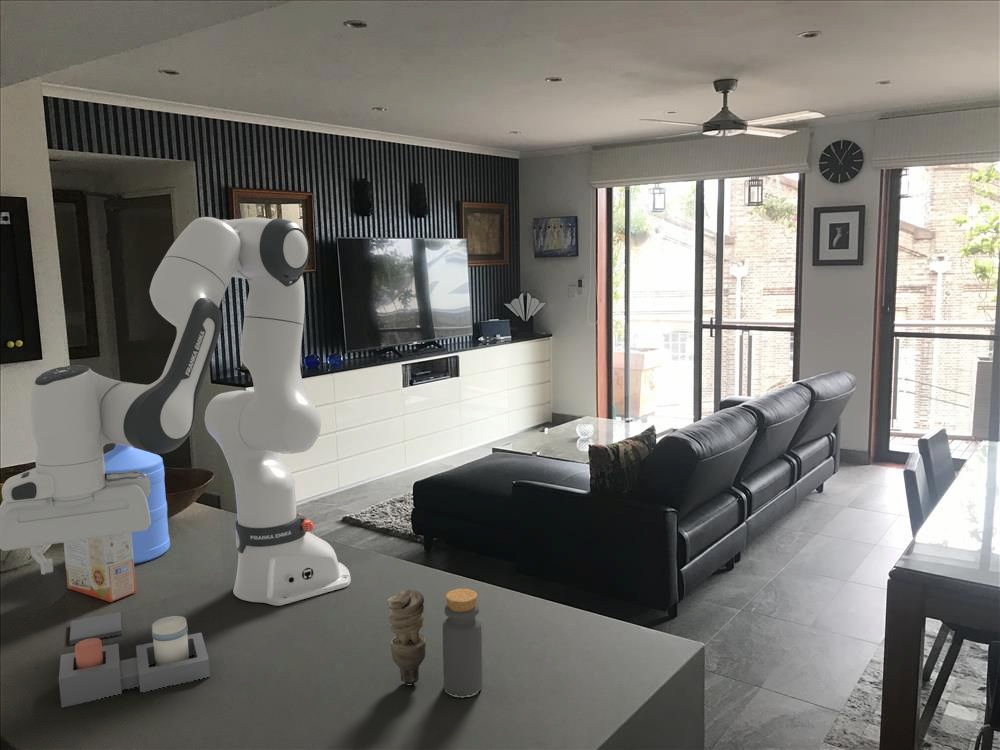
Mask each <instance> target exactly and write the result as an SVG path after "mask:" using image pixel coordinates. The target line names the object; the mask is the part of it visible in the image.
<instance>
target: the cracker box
mask: <svg viewBox="0 0 1000 750" xmlns="http://www.w3.org/2000/svg"><path fill="white" fill-rule="evenodd" d="M114 543H115V542H113V535H112V536H105V537H99V538H92V539H85V540H78V541H71V542H64V543H63V550H64V563H65V564H64V565H65V571H66V582H67V584H66V585H67V589H68V590H72V591H75V592H78V593H81V594H84V595H86V596H87V595H88V596H90V597H94V598H96V599H100V600H102V601H106V602H109V603H113V602H115V601H117V600H120V599H122V598H125V597H128V596H130V595H133V594H135V593H136V592H137V590H136V589H137V587H136V575H135V564H134V559H133V547H132V534H131V533H126V534H123V542H122V544H121V546H120V548H119V550H118V551H117V552H116V554H117V563H112V564H106V550H110V549H112V547H113V545H114Z"/></svg>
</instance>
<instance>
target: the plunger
mask: <svg viewBox="0 0 1000 750" xmlns="http://www.w3.org/2000/svg"><path fill="white" fill-rule="evenodd" d="M102 645H103V644H102V640H101V639H98V638H90V639H86V640H82V641H80V642H78V643H77V644H74V652H75V654H76V664H77V670H78V669H83V668H88V667H93V666H97V665H102V664H103V654H102Z"/></svg>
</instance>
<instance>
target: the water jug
mask: <svg viewBox="0 0 1000 750" xmlns="http://www.w3.org/2000/svg"><path fill="white" fill-rule="evenodd" d="M114 444H115V443H114ZM104 464H105V473H106V474H108V473H117V472H119V473H120V472H121V473H122V472H123V473H124V472H129V471H138V473H143V474H145V475H147V476H148V478H149V479H150V488H151V491H150V494H149V495H148V497H147V502H148V507H149V512H150V520H151V524H150V526H149V527H148V529H147V530H145V531H140V532H133V533H131V534H132V547H133V559H134V565H136V564H140V563H145V562H148V561H152V560H154V559H156V558H159V557H160V556H162V555H164V554H165V553H166V552H167V551H168V550H169V549H170V546H171V540H170V535H169V525H168V522H169V521H168V502H167V499H166V497H167V496H166V486H165V465H164V461H163V457H161V456H160V454H157V453H152V452H149V451H145V450H142V449H139V448H136V447H130V446H123V445H118V444H115V446H114V447H113V449H112V450H110V451H108V452H106V453H104ZM139 477H143V476H141V475H139ZM106 483H107V480H106Z"/></svg>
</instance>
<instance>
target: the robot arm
mask: <svg viewBox="0 0 1000 750" xmlns="http://www.w3.org/2000/svg"><path fill="white" fill-rule="evenodd" d="M309 258H310V242H309V239H308V236H307V233H305V231H304V229H303V227H302V226H301V225H299V223H296V222H295V221H292V220H288V219H284V218H273V219H272V218H266V217H252V216H251V217H250V216H249V217H245V218H236V219H235V218H233V219H219V218H217V217H212V216H211V217H210V216H204V217H203V216H202V217H198V218H196V219H194V220H193V221H191V222H190V223H189V224H187V227H185V228H184V229H183V231H181V232H180V234H179V236H178V237H177V238H176V239H175V240H174V241H173V243H172V245H171V246H170V247H169V248H168V250H167V252H166V254H165V255H164V256H163V259H161V262H160V264H159V265H158V267H157V269H156V271H155V272H154V274H153V277H152V280H151V283H150V287H149V296H150V301H151V303H152V305H153V307H154V308H155V310H156V311H157V313H158V314H159V315H161V317H162V318H164V319H165V320H166V321H168V322H169V323H170V324H171V325H173V326H174V327H175V328H176V335H175V340H174V343H173V346H172V347H171V351H170V353H169V354H168V355H169V356H168V358H167V361H166V364H165V366H164V369H163V371H162V374H161V376H160V377H159V378H158V379H157V380H155V381H154V382H152V383H150V384H144V383H143V384H142V383H141V384H140V383H134V382H130V381H129V382H128V381H121V380H117V379H113V378H110V377H106V376H104V375H101V374H99V373H97V372H95V371H93V370H92V368H90V367H89V366H87V365H82V364H81V365H80V364H75V365H74V364H73V365H66V366H59V367H55V368H52V369H49V370H47V371H44V372H42V373H41V374H39V376H37V377H35V380H34V381H33V385H32V387H31V393H30V394H31V397H30V416H31V418H30V419H31V429H32V434H33V437H34V440H35V442H36V446H37V449H36V455H35V467H34V468H31V469H29V470H26V471H23V472H21V473H18V474H16V475H13V476H11V477H9V478H7V480H5V482H4V483H3V485H2V486H1V487H2V488H1V497H2V502H1V504H0V550H1V551H4V552H6V551H14V550H19V549H20V550H21V549H22V550H23V549H27V548H29V552H30V556H32V558H33V559H34V560H35V561H36V562H37V563H38V564H39V565H40V574H41V575H47V574H53V573H54V565H53V558H52V557H51V558H46V556H44V555H43V553H42V549H43V546H48V545H55V544H56V545H57V544H64V542H71V541H78V540H85V539H92V538H99V537H105V536H112V535H113V542H115V543H114V545H113V547H112V549H110V550H106V564H112V563H117V554H116V552H117V551H118V550H119V548H120V546H121V544H122V542H123V534H126V533H133V532H140V531H145V530H147V529H148V527H149V526H150V524H151V520H150V512H149V507H148V502H147V497H148V495H149V494H150V491H151V488H150V479H149V478H148V476H147V475H145V474H143V473H138V471H129V472H124V473H123V472H122V473H121V472H120V473H119V472H117V473H108V474H106V473H105V464H104V454H105V453H104V447H105V446H106V445H109V444H118V445H123V446H130V447H133V448H137V449H140V450H143V451H147V452H150V453H153V454H157V455H160V454H161V455H164V454H168V453H170V452H172V451H174V450H176V449H178V448H179V447H180V446H182V444H183V443H184V442H185V441H186V440H187V439H188V438H189V436H190V434H191V432H192V430H193V427H194V424H195V419H196V412H197V405H198V401H199V397H200V393H201V390H202V388H203V384H204V381H205V379H206V375H207V372H208V370H209V366H210V364H211V361H212V358H213V356H214V352H215V349H216V346H217V344H218V340H219V337H220V335H221V334H220V333H221V329H222V326H223V315H222V311H221V309H220V306H221V305H220V304H221V302H222V300H223V297H224V294H225V293H226V291H227V288H228V286H229V284H230V283H231V280H232V278H238V279H243V280H244V279H245V280H247V283H248V286H249V287H248V288H249V292H248V296H247V300H246V304H245V309H244V310H245V311H244V317H243V327H242V334H241V342H240V343H241V344H240V348H239V349H240V351H239V355H240V360H241V362H242V364H243V365H244V366H245V367H246V368H247V369H248V371H249V374H250V377H251V379H252V380H251V381H252V383H253V391H249V390H242V389H239V390H238V389H237V390H233V391H231V390H230V391H227V392H222V393H219V394H216V395H215V396H214V397H212V399H211V400H210V401H209V402H208V404H207V407H206V408H205V411H204V412H205V413H204V424H205V429H206V431H207V432H208V434H209V435H210V436H211V437H212V438H213V439H214V440H215V441H216V443H217V444H218V445H219V447H220V449H221V451H222V452H223V455H224V458H225V460H226V461H227V465H228V467H229V471H230V473H231V476H232V480H233V484H234V492H235V500H236V502H235V503H236V514H237V520H236V521H235V529H234V530H235V545H236V549H237V552H238V557H237V558H238V559H237V570H236V577H235V582H234V586H233V591H232V592H233V594H234V596H235V597H236V598H238V599H240V600H243V601H246V602H251V603H264V604H268V605H272V606H284V605H287V604H292V603H294V602H299V601H301V600H304V599H308V598H312V597H316V596H318V595H322V594H323V595H324V594H326V593H328V592H333V591H335V590H336V591H337V590H340V589H343V588H346V587H348V586H349V585H350V584H351V582H352V579H351V573H350V571H349V569H348V567H346V566H345V564H343V563H341V562H339V561H338V557H337V554H336V552H335V550H334V548H333V547H332V545H331V544H329V543H328V541H326V540H324V539H323V538H320V537H318V536H316V535H315V534H313V533H311V531H313V530H314V523H313V522H312V521H311V519H307V517H306V516H305V515H303V514H302V513H300V512H297V497H296V481H295V478H294V475H293V474H292V472H291V470H289V469H288V468H287V467H286V465H285V464H284V463H283V461H282V460H281V458H280V456H279V455H290V454H301V453H305V452H306V451H308V450H310V449H312V447H314V445H315V444H316V442H317V440H318V439H319V437H320V433H321V427H322V422H321V416H320V412H319V411H318V409H317V407H315V406H314V404H313V403H312V402H311V399H310V398H309V397H308V395H307V392H306V389H305V387H304V382H303V377H302V371H301V352H302V343H303V342H302V340H303V332H304V325H305V324H304V323H305V313H306V312H305V311H306V310H305V309H306V307H305V306H306V303H305V302H306V298H305V297H306V296H305V295H306V293H305V284H304V282H305V281H304V277H303V276H302V275H303V273H304V271H305V269H306V267H307V265H308V261H309ZM139 475H141V476H143V477H139ZM106 480H107V483H106Z"/></svg>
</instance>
